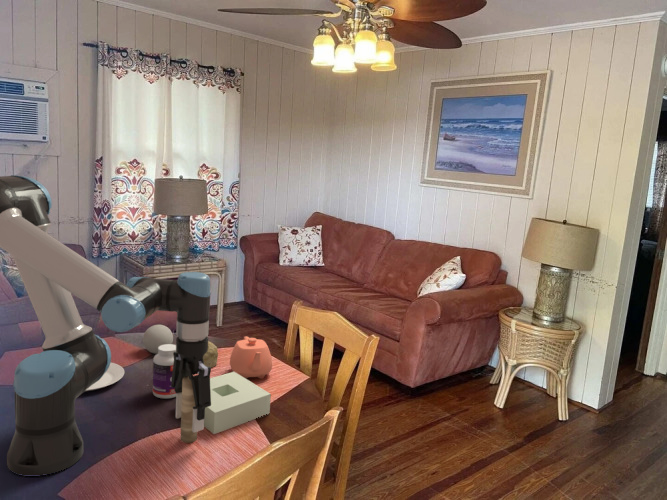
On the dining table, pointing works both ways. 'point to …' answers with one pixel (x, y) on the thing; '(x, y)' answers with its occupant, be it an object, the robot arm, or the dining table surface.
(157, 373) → the pill bottle
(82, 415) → the dining table surface
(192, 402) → the dowel
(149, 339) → the ball
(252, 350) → the teapot
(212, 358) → the decorative object
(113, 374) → the plate
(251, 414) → the bore block
